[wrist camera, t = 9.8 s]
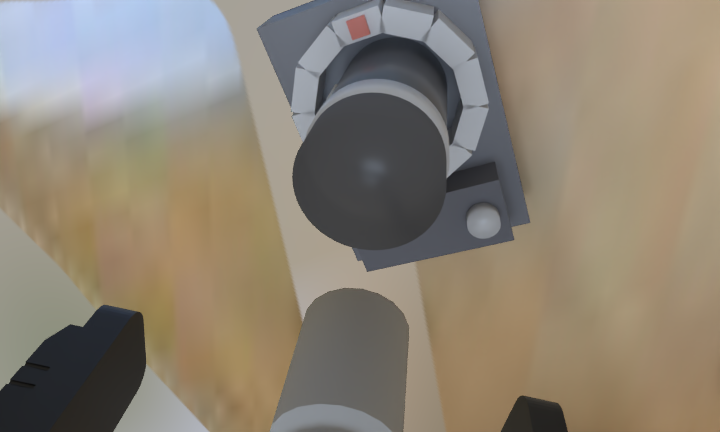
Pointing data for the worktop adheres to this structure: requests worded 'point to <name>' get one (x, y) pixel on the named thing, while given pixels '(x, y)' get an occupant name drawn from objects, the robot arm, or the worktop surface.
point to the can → (347, 367)
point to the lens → (378, 149)
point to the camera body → (464, 107)
